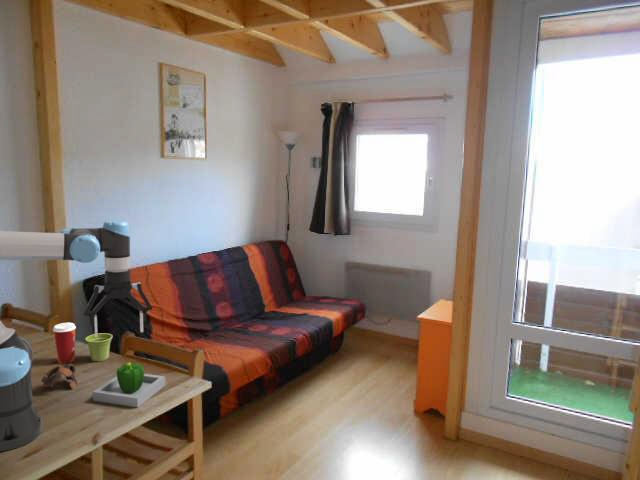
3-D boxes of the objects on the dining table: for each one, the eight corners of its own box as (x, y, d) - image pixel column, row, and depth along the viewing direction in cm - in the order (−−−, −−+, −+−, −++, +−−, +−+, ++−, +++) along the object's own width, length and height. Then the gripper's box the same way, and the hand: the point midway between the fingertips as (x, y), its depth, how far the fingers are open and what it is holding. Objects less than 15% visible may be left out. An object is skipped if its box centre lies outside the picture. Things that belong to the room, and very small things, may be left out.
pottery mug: (71, 395, 155) (55, 377, 152) (48, 404, 157) (32, 386, 154) (88, 371, 166) (73, 353, 163) (67, 380, 168) (52, 363, 165)
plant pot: (108, 352, 190) (107, 331, 188) (117, 359, 183) (116, 337, 182) (83, 358, 183) (82, 336, 182) (92, 365, 176) (90, 343, 175)
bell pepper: (127, 382, 161) (126, 354, 160) (149, 385, 160) (148, 357, 158) (111, 394, 153) (110, 364, 152) (134, 397, 151) (133, 367, 150)
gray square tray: (137, 407, 147) (137, 398, 147) (93, 400, 151) (92, 391, 150) (165, 384, 162) (165, 376, 162) (124, 379, 166) (124, 371, 166)
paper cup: (82, 359, 182) (79, 324, 180) (62, 366, 175) (59, 330, 173) (70, 354, 186) (68, 320, 184) (50, 361, 180) (48, 326, 177)
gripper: (157, 265, 159) (158, 325, 162) (74, 269, 148) (76, 334, 152) (160, 269, 153) (161, 332, 156) (73, 274, 142) (75, 342, 145)
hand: (119, 333), depth 154 cm, fingers open, 13 cm apart
